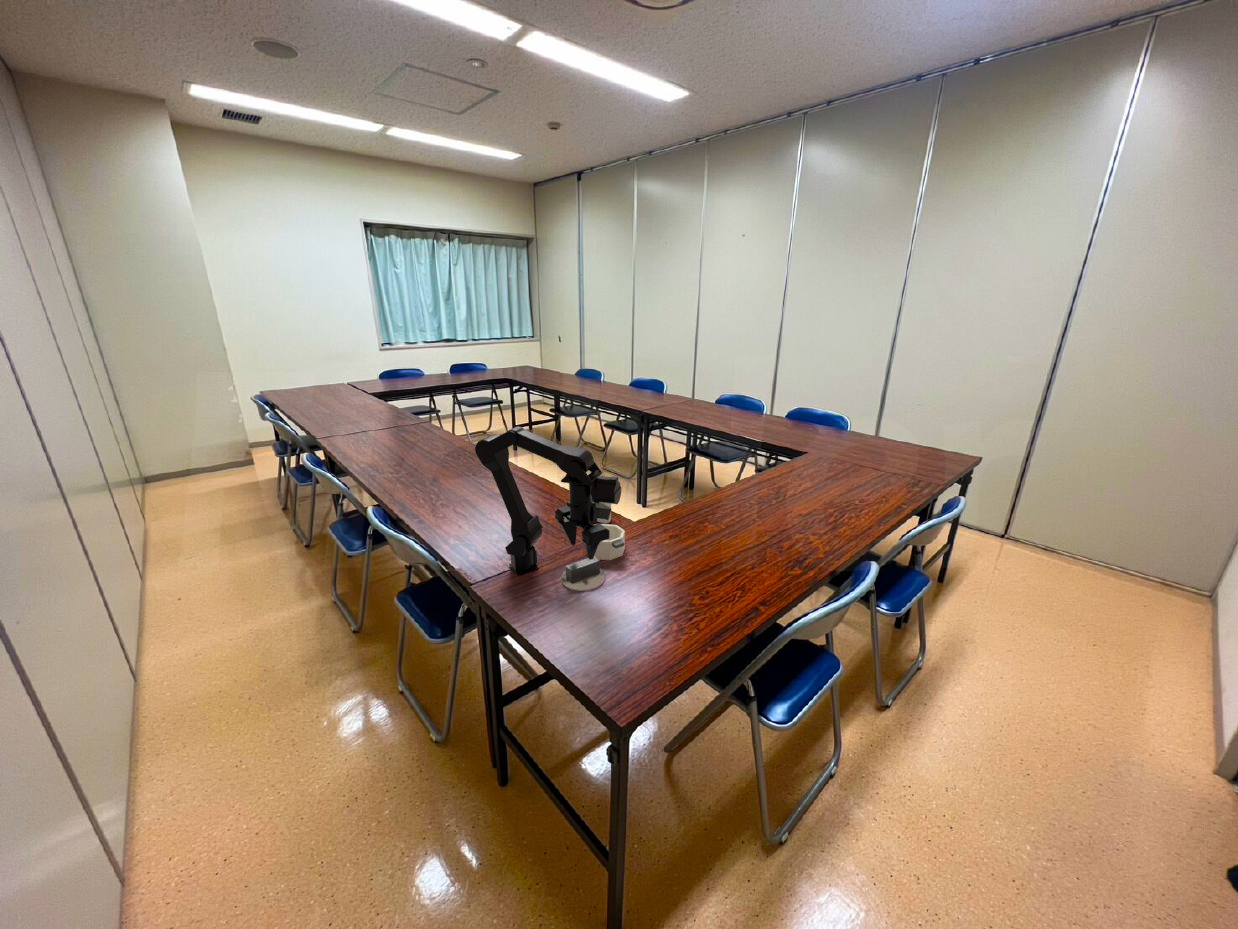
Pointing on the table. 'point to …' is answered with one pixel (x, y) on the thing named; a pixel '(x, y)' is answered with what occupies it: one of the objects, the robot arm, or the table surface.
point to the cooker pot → (611, 544)
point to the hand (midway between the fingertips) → (582, 551)
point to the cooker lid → (583, 575)
